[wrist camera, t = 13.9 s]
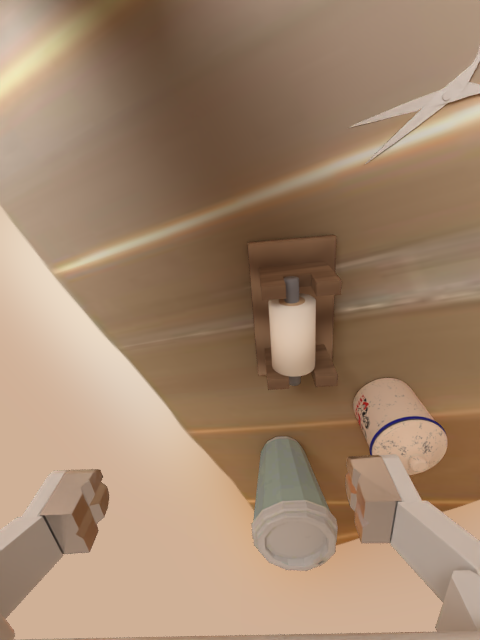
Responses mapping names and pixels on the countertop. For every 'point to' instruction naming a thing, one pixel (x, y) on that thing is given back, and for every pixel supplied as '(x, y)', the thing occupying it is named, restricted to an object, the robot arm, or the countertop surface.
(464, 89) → the scissors
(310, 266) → the roll holder
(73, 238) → the countertop surface
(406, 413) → the teacup with lid
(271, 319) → the paper roll
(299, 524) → the disposable coffee cup
